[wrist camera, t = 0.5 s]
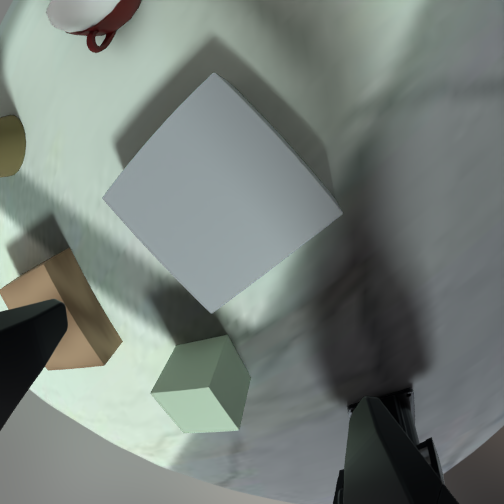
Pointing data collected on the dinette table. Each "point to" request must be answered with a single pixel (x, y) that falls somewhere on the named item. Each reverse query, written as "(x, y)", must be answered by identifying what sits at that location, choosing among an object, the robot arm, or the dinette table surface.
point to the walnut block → (77, 307)
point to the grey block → (220, 195)
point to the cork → (11, 145)
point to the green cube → (204, 386)
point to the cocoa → (91, 18)
